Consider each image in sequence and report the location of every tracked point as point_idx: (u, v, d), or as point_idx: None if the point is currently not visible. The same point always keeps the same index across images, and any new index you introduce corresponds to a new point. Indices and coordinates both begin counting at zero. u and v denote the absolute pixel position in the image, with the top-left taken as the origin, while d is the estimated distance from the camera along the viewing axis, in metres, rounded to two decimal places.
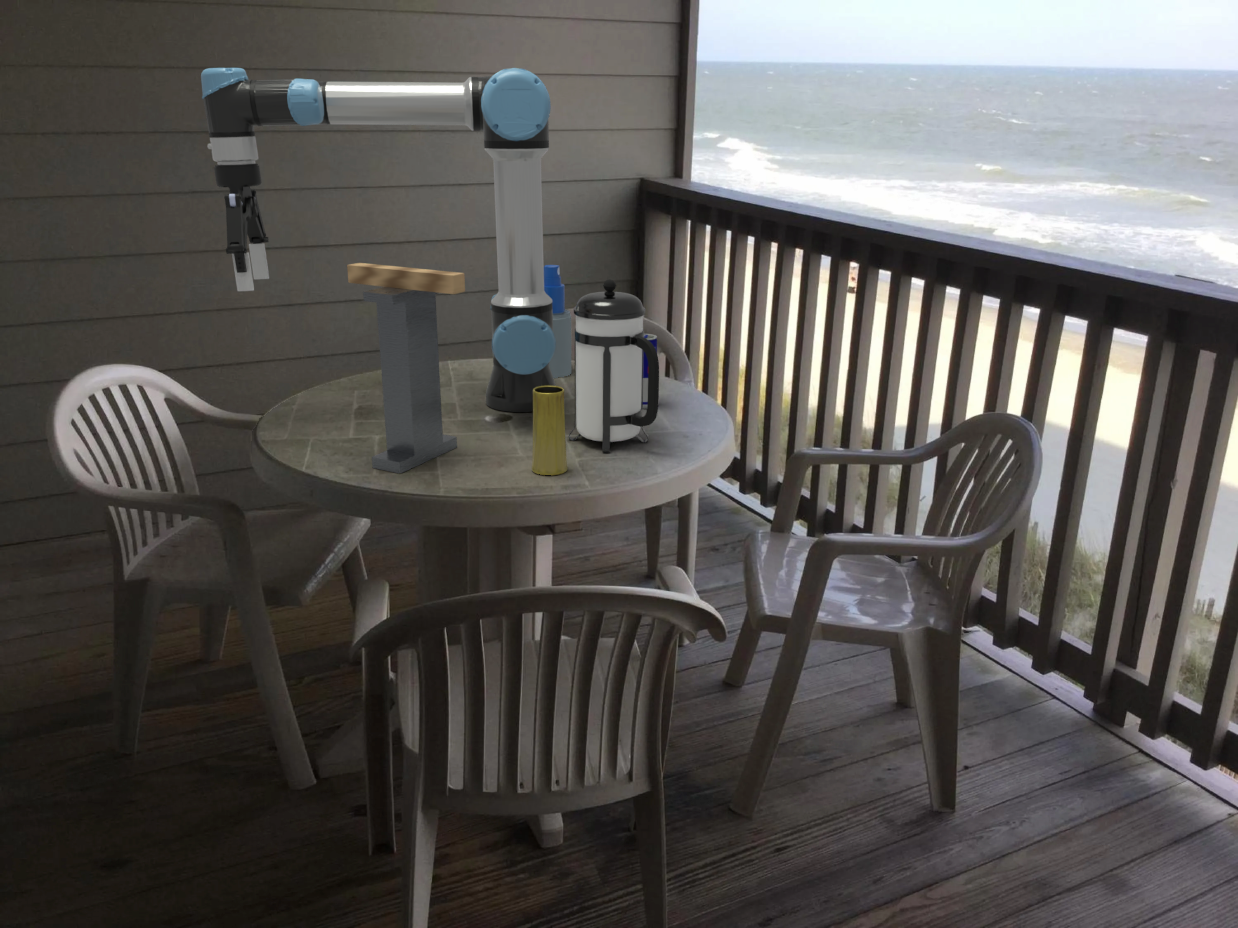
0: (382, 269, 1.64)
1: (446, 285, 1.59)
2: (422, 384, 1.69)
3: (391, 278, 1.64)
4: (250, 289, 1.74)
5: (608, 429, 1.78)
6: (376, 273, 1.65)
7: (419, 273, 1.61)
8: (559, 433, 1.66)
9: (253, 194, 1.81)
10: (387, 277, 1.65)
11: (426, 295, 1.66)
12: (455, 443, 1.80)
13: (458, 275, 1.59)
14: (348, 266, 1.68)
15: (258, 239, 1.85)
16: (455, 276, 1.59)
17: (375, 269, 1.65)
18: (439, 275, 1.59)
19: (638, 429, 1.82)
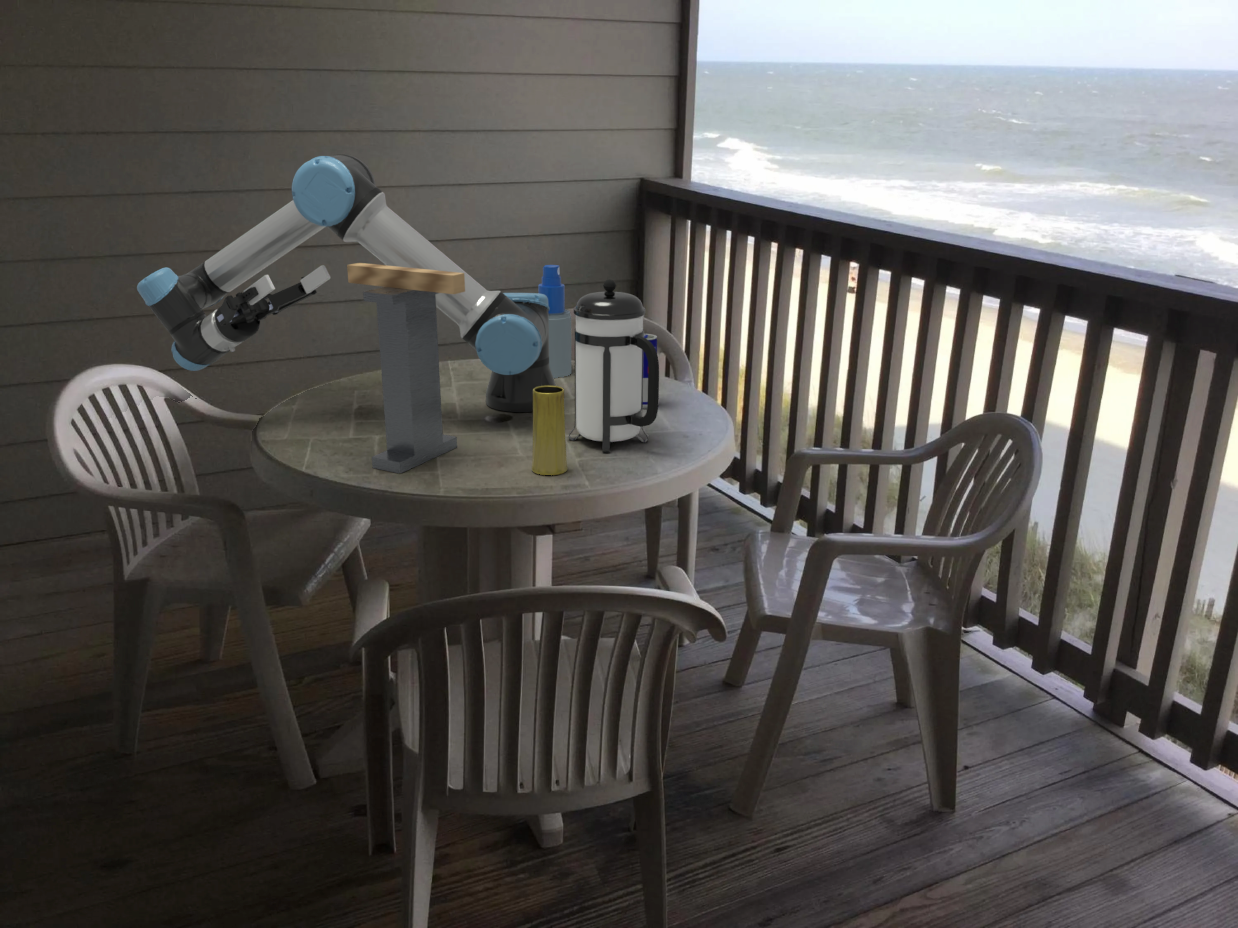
0: (382, 269, 1.64)
1: (446, 285, 1.59)
2: (422, 384, 1.69)
3: (391, 278, 1.64)
4: (265, 278, 1.70)
5: (608, 429, 1.78)
6: (376, 273, 1.65)
7: (419, 273, 1.61)
8: (559, 433, 1.66)
9: (269, 303, 1.89)
10: (387, 277, 1.65)
11: (426, 295, 1.66)
12: (455, 443, 1.80)
13: (458, 275, 1.59)
14: (348, 266, 1.68)
15: (302, 286, 1.86)
16: (455, 276, 1.59)
17: (375, 269, 1.65)
18: (439, 275, 1.59)
19: (638, 429, 1.82)
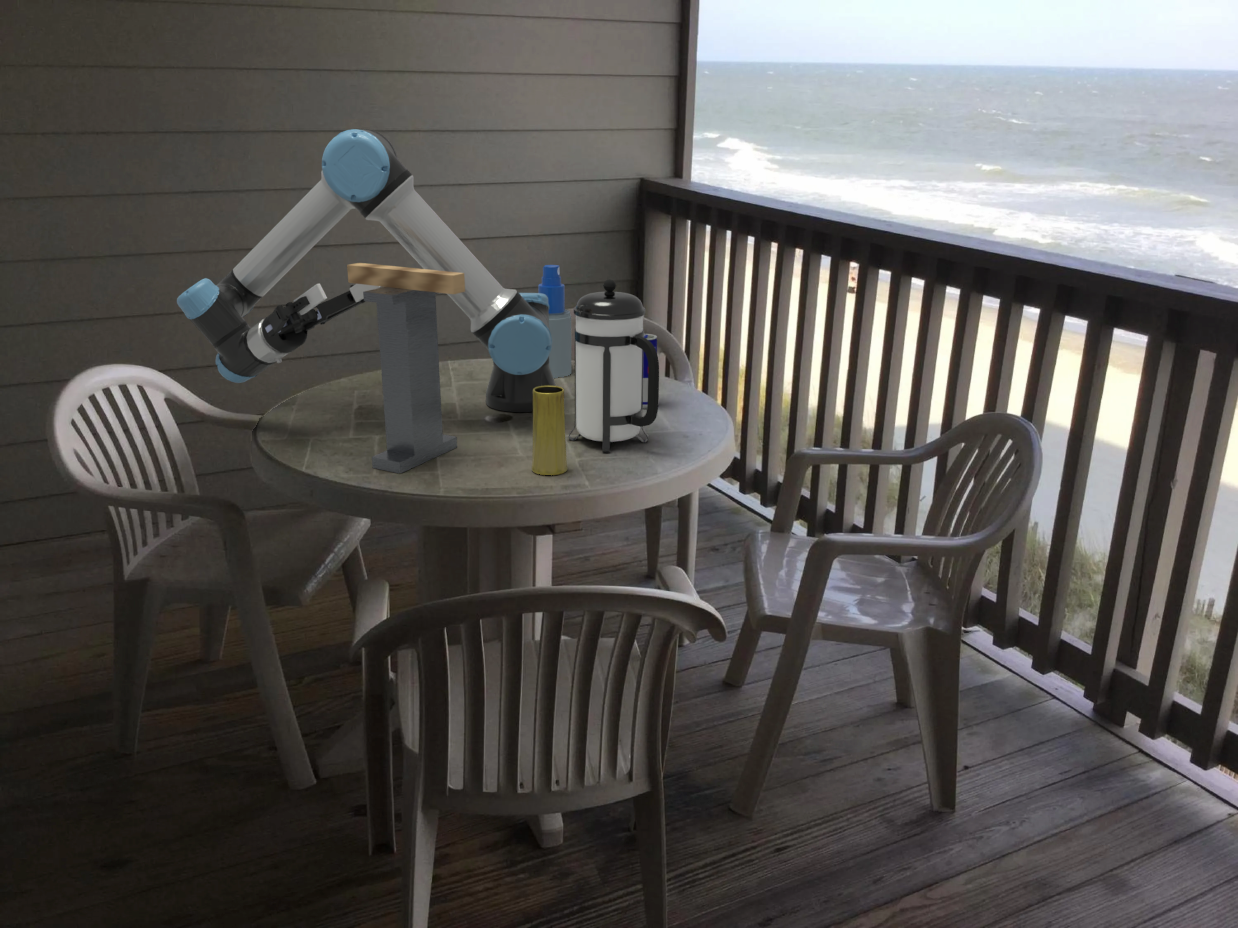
0: (382, 269, 1.64)
1: (446, 285, 1.59)
2: (422, 384, 1.69)
3: (391, 278, 1.64)
4: (316, 287, 1.64)
5: (608, 429, 1.78)
6: (376, 273, 1.65)
7: (419, 273, 1.61)
8: (559, 433, 1.66)
9: (317, 312, 1.83)
10: (387, 277, 1.65)
11: (426, 295, 1.66)
12: (455, 443, 1.80)
13: (458, 275, 1.59)
14: (348, 266, 1.68)
15: (351, 294, 1.80)
16: (455, 276, 1.59)
17: (375, 269, 1.65)
18: (439, 275, 1.59)
19: (638, 429, 1.82)
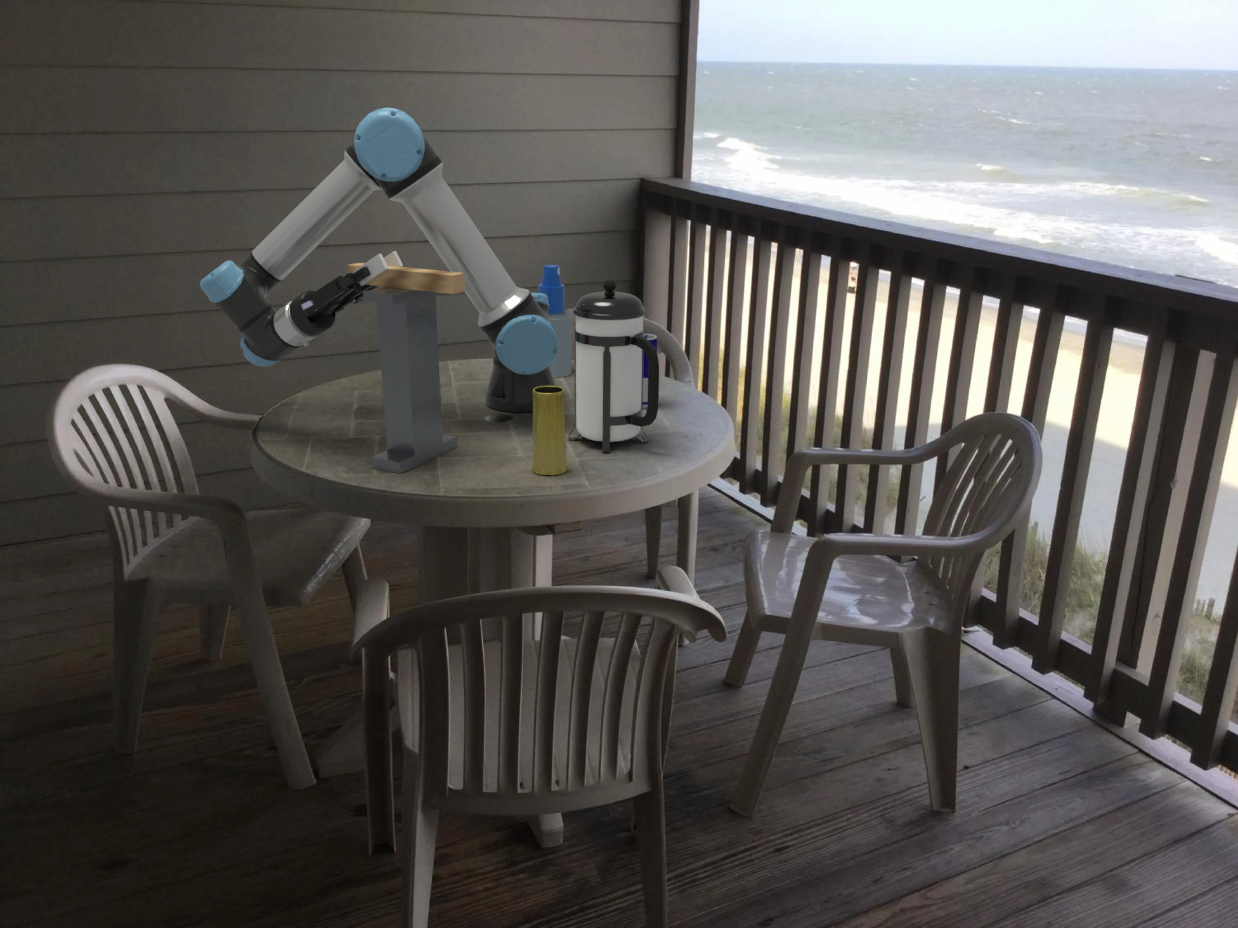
0: None
1: (446, 285, 1.59)
2: (422, 384, 1.69)
3: (391, 278, 1.64)
4: (378, 257, 1.63)
5: (608, 429, 1.78)
6: None
7: (419, 273, 1.61)
8: (559, 433, 1.66)
9: None
10: (387, 277, 1.64)
11: (426, 295, 1.66)
12: (455, 443, 1.80)
13: (458, 275, 1.59)
14: (348, 266, 1.68)
15: None
16: (455, 276, 1.59)
17: None
18: (439, 275, 1.59)
19: (638, 429, 1.82)
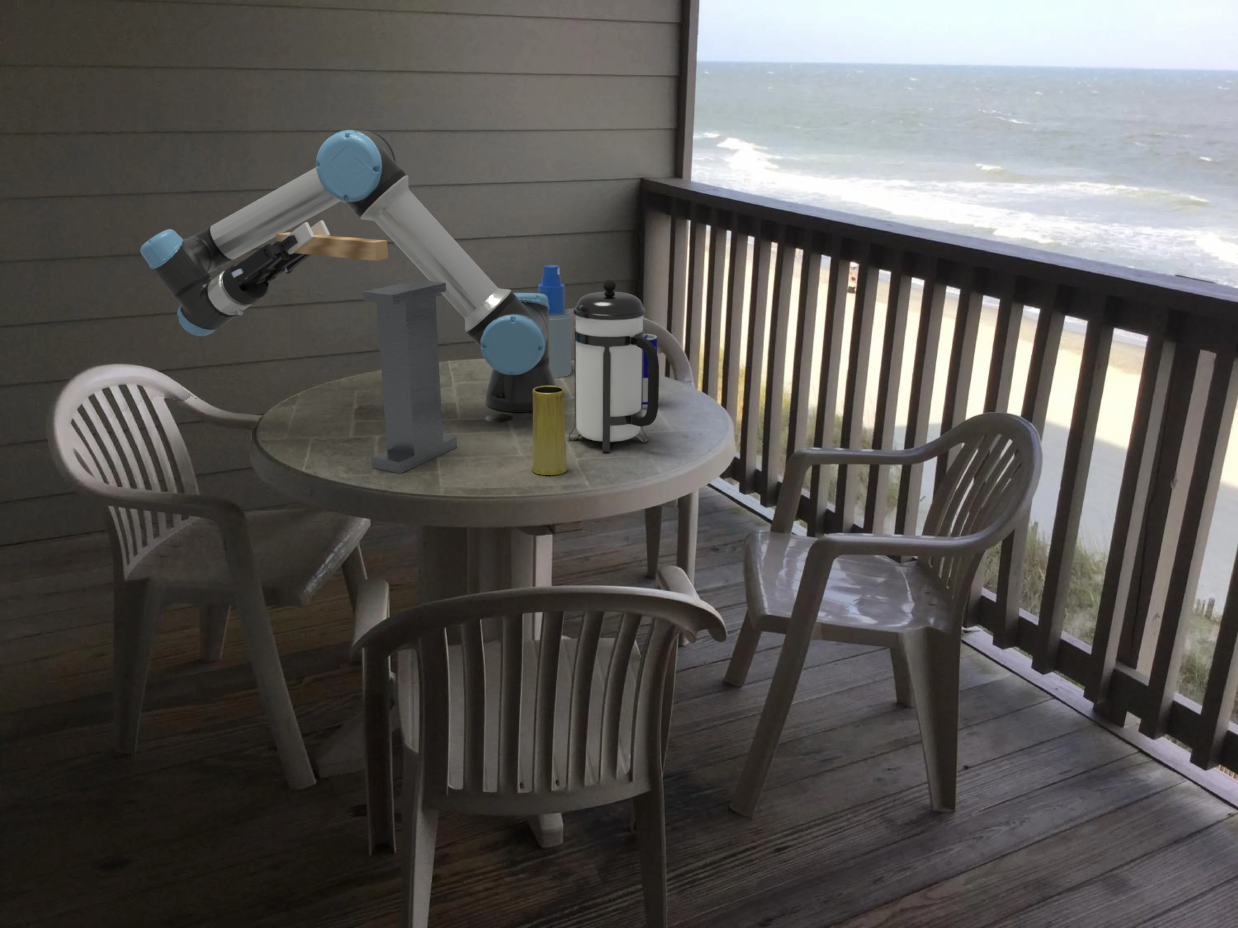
0: None
1: (369, 252, 1.64)
2: (422, 384, 1.69)
3: (317, 246, 1.69)
4: (304, 225, 1.68)
5: (608, 429, 1.78)
6: None
7: (343, 241, 1.66)
8: (559, 433, 1.66)
9: None
10: (313, 245, 1.69)
11: (426, 295, 1.66)
12: (455, 443, 1.80)
13: (381, 242, 1.64)
14: (277, 235, 1.72)
15: None
16: (377, 243, 1.64)
17: None
18: (362, 242, 1.64)
19: (638, 429, 1.82)
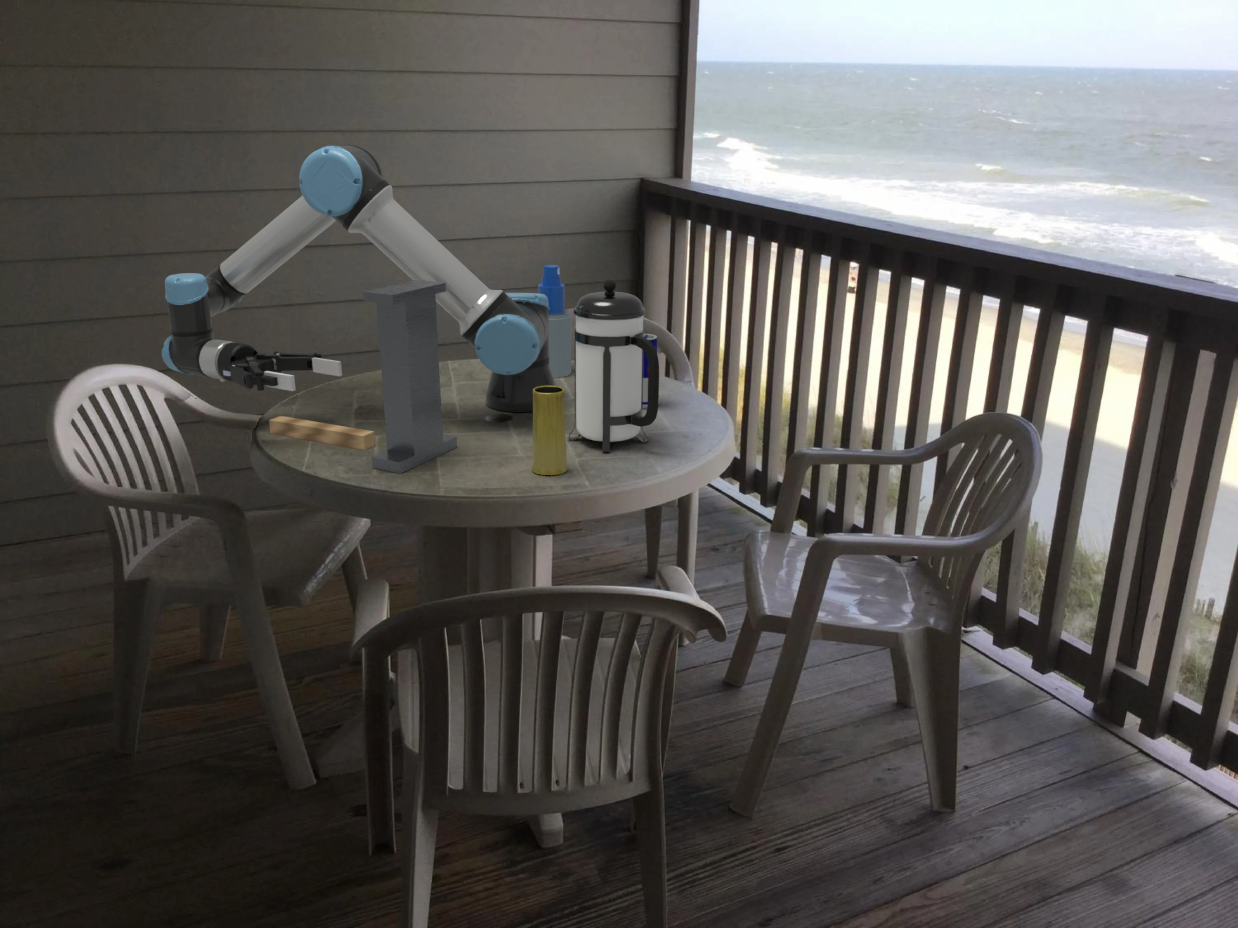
0: (300, 426, 1.84)
1: (358, 443, 1.79)
2: (422, 384, 1.69)
3: (308, 434, 1.83)
4: (290, 378, 1.75)
5: (608, 429, 1.78)
6: (296, 429, 1.84)
7: (333, 431, 1.81)
8: (559, 433, 1.66)
9: (275, 354, 1.92)
10: (305, 433, 1.84)
11: (426, 295, 1.66)
12: (455, 443, 1.80)
13: (368, 434, 1.79)
14: (270, 421, 1.86)
15: (312, 362, 1.89)
16: (365, 436, 1.79)
17: (294, 425, 1.84)
18: (351, 434, 1.79)
19: (638, 429, 1.82)
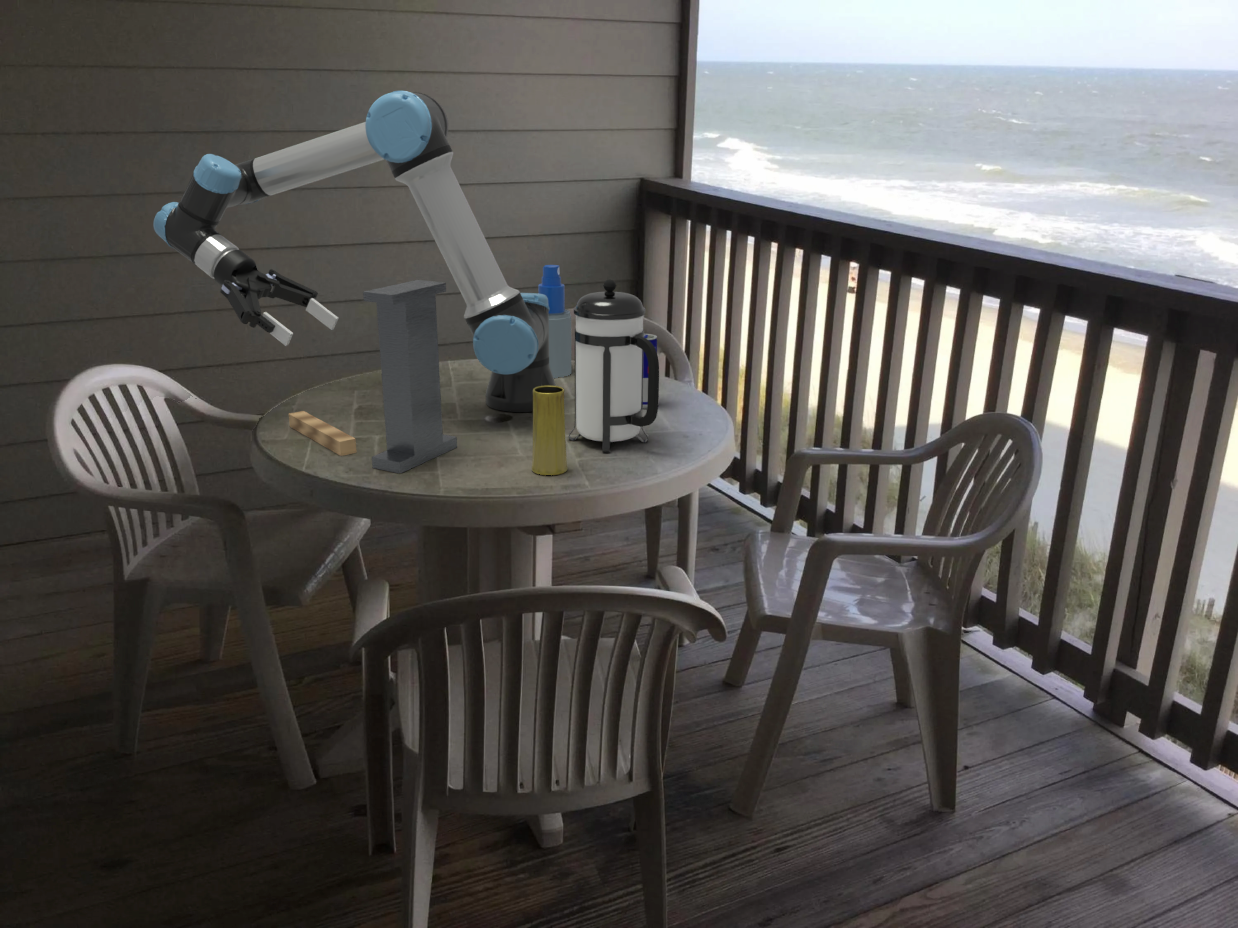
0: (305, 423, 1.85)
1: (337, 448, 1.76)
2: (422, 384, 1.69)
3: (309, 432, 1.84)
4: (288, 335, 1.78)
5: (608, 429, 1.78)
6: (302, 426, 1.86)
7: (323, 433, 1.80)
8: (559, 433, 1.66)
9: (271, 273, 1.91)
10: (308, 431, 1.85)
11: (426, 295, 1.66)
12: (455, 443, 1.80)
13: (347, 440, 1.76)
14: (289, 415, 1.90)
15: (308, 299, 1.92)
16: (343, 442, 1.75)
17: (302, 422, 1.86)
18: (333, 439, 1.77)
19: (638, 429, 1.82)
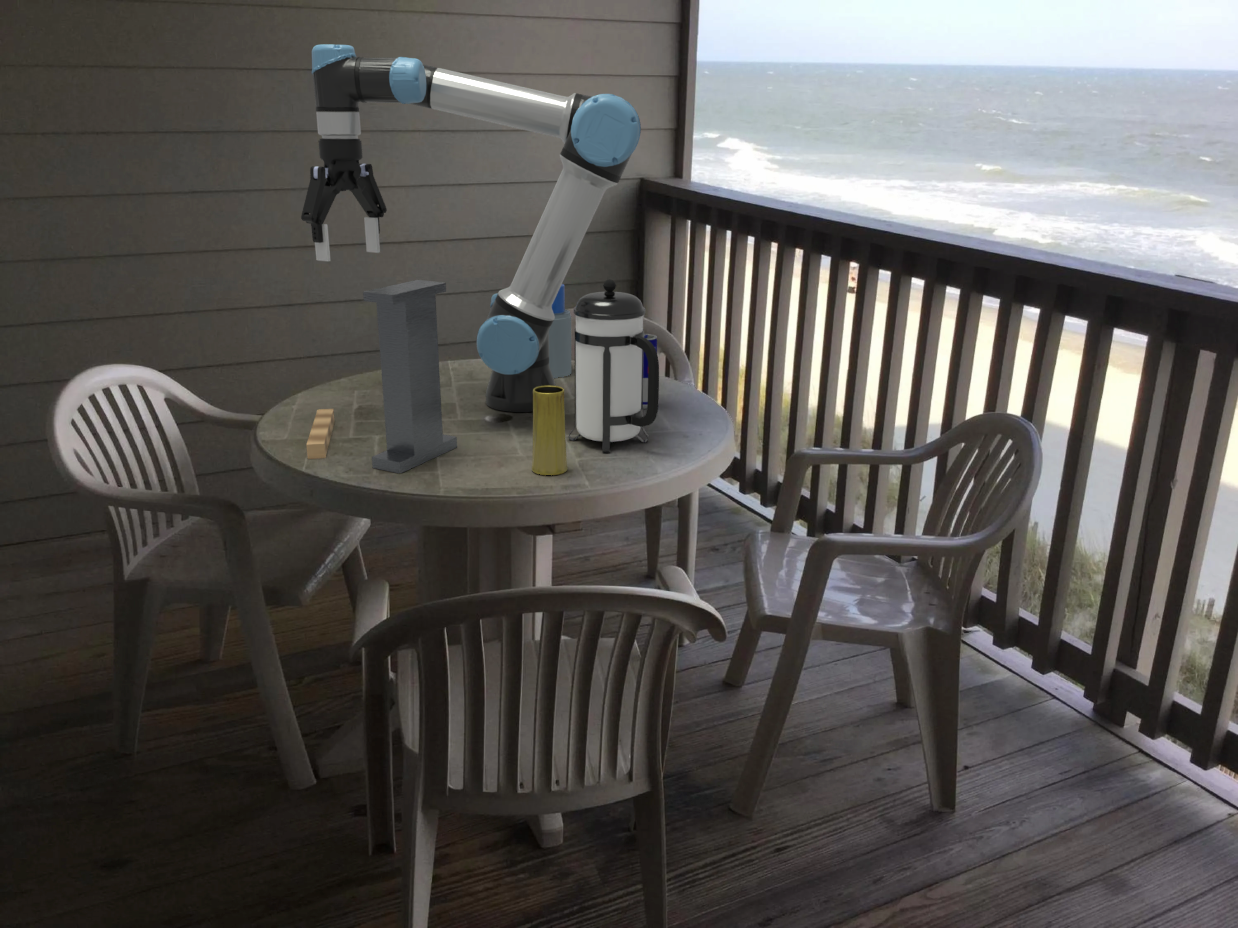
0: (314, 421, 1.86)
1: None
2: (422, 384, 1.69)
3: None
4: (325, 259, 1.80)
5: (608, 429, 1.78)
6: None
7: (310, 434, 1.79)
8: (559, 433, 1.66)
9: (367, 169, 1.86)
10: None
11: (426, 295, 1.66)
12: (455, 443, 1.80)
13: (315, 444, 1.73)
14: None
15: (373, 213, 1.90)
16: (310, 445, 1.73)
17: None
18: (308, 440, 1.76)
19: (638, 429, 1.82)
